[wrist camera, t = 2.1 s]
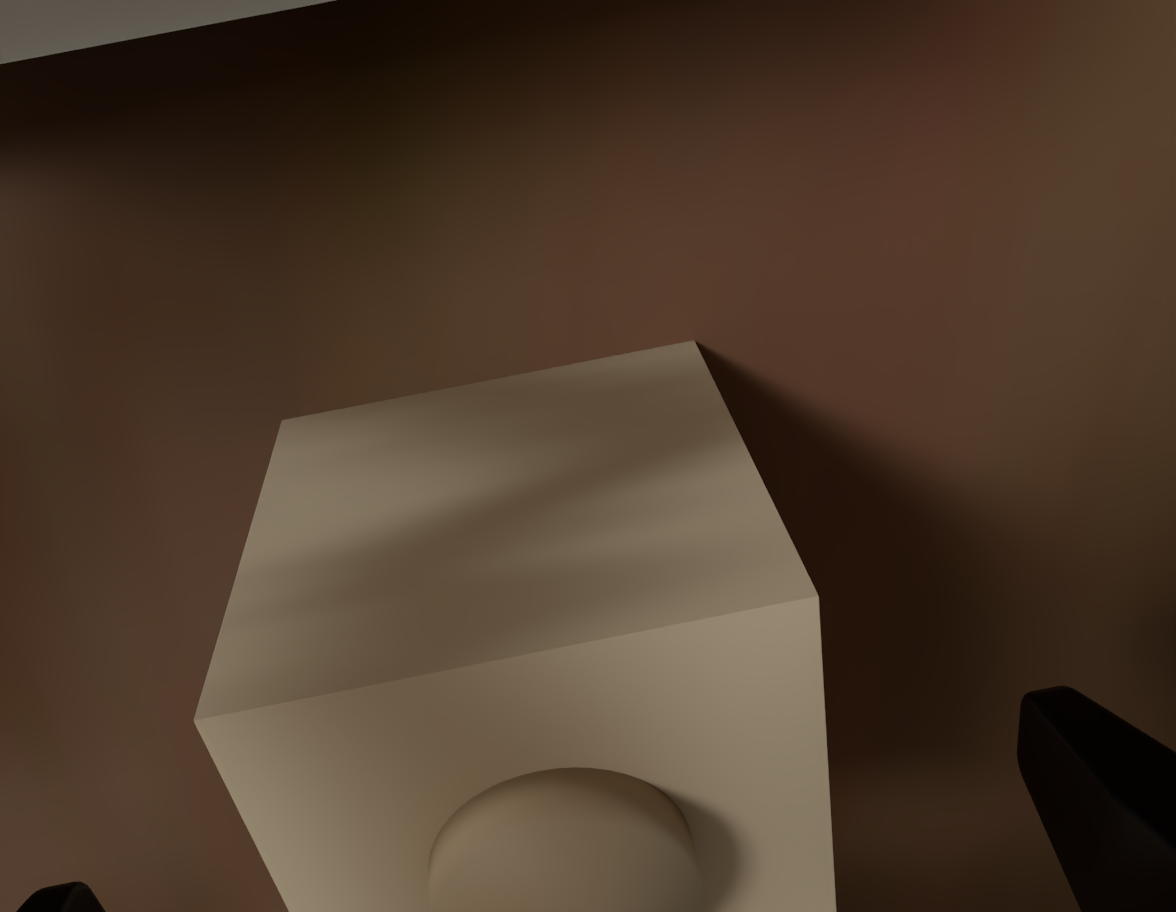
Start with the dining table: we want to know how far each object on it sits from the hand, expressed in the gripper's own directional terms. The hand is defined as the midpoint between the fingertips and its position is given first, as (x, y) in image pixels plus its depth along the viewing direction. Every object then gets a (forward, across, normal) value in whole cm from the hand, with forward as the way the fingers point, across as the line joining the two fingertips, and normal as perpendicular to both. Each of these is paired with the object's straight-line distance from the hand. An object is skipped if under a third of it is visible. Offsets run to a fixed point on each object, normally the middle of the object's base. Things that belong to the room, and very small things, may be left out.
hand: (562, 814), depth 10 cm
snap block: (+4, 0, 0) cm, 5 cm away
